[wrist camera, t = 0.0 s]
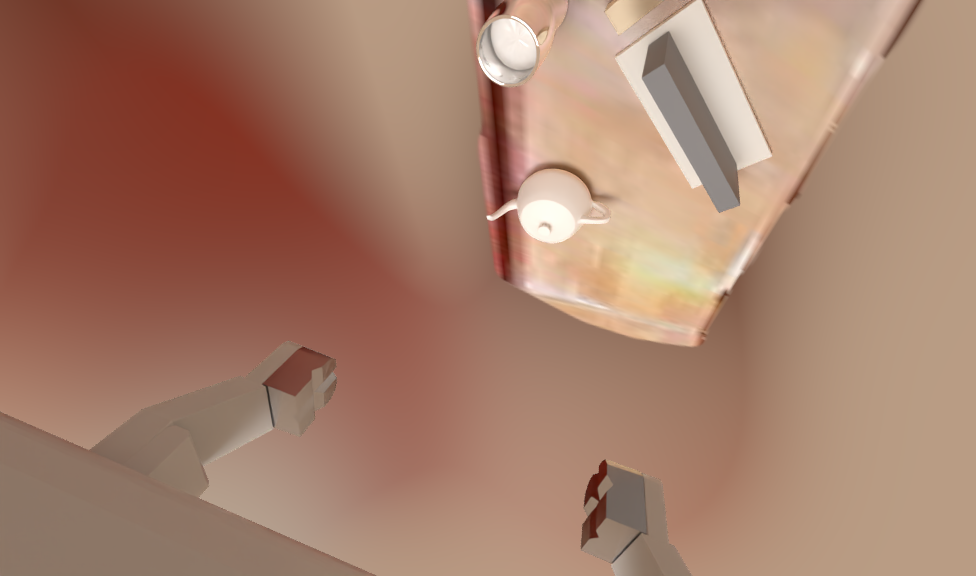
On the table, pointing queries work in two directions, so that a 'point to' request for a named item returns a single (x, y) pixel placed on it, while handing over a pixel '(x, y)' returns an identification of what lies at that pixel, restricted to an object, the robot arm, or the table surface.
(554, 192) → the teapot
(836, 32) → the table surface
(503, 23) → the beer glass
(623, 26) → the birch bar
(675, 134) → the stand
